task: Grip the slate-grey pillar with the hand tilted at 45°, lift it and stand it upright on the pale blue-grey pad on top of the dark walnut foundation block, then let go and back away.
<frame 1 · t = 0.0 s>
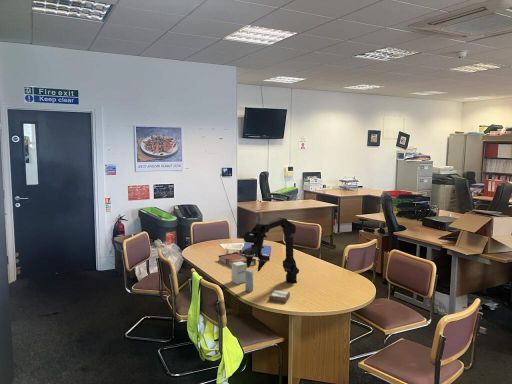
hand: (253, 269, 239), 15 cm above the table, tool pointing down, fingers open, 9 cm apart
supplement box: (238, 282, 263), on the table
book: (236, 263, 305), on the table
slate pillar: (249, 290, 247), on the table
foundation block: (279, 298, 234), on the table
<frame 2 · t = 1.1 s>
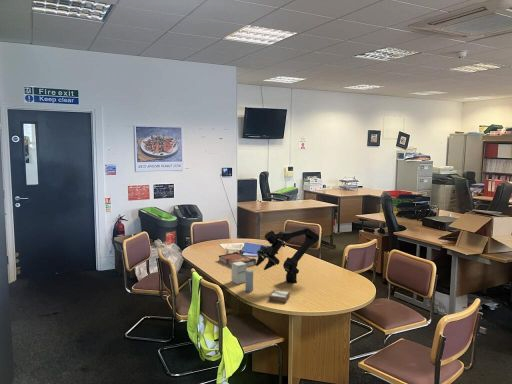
hand: (260, 267, 249), 13 cm above the table, tool tilted 45°, fingers open, 9 cm apart
nothing on the table moved.
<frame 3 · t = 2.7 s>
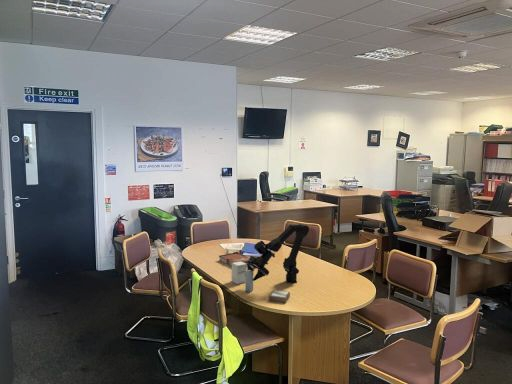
hand: (249, 278, 246), 8 cm above the table, tool tilted 45°, fingers open, 9 cm apart
nothing on the table moved.
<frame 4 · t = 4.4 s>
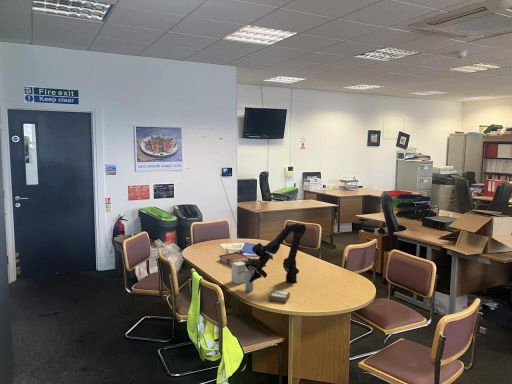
hand: (247, 280, 245), 7 cm above the table, tool tilted 45°, fingers closed on slate pillar, 5 cm apart
slate pillar: (249, 290, 247), on the table, touching gripper
everything else where it was.
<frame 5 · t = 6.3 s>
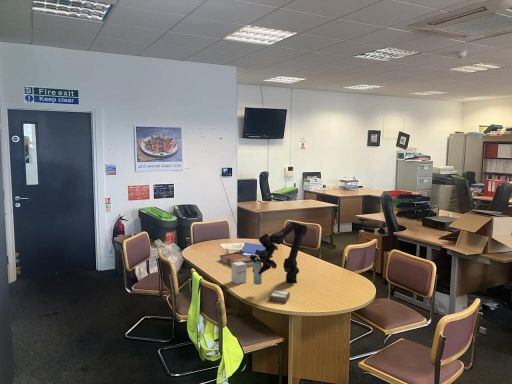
hand: (256, 273, 239), 13 cm above the table, tool tilted 45°, fingers closed on slate pillar, 5 cm apart
slate pillar: (257, 283, 240), point 7 cm above the table, touching gripper
when the fingers open (11 cm above the table, at t = 8.6 s): slate pillar drops 1 cm, resting on foundation block.
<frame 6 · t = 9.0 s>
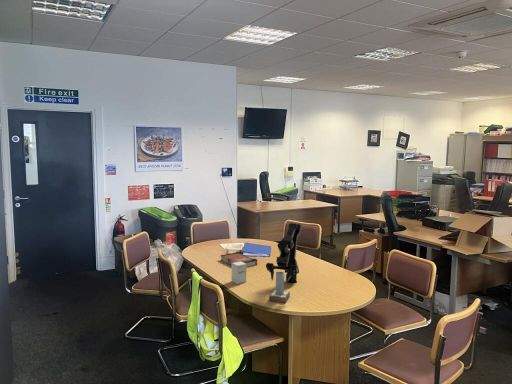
hand: (279, 281, 232), 11 cm above the table, tool tilted 45°, fingers open, 9 cm apart
slate pillar: (279, 293, 234), point 3 cm above the table, touching foundation block
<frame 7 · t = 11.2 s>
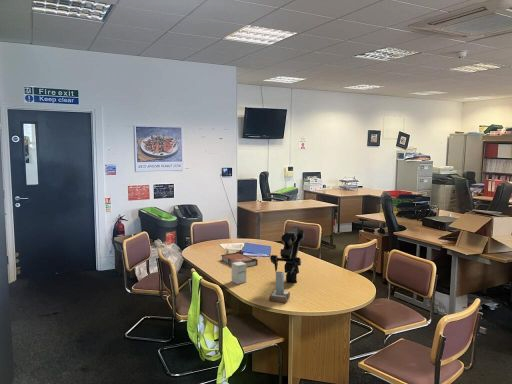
hand: (283, 272, 240), 14 cm above the table, tool tilted 45°, fingers open, 9 cm apart
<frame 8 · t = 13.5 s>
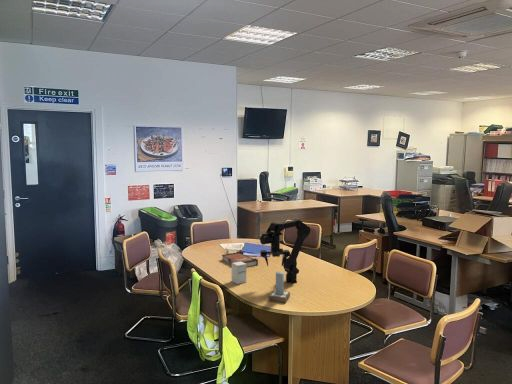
hand: (274, 266, 254), 13 cm above the table, tool pointing down, fingers open, 9 cm apart
at the end: slate pillar 0.0 cm off-centre on the foundation block, point 3.2 cm above the foundation block's base; slate pillar tilted 1°; the gripper is holding nothing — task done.
